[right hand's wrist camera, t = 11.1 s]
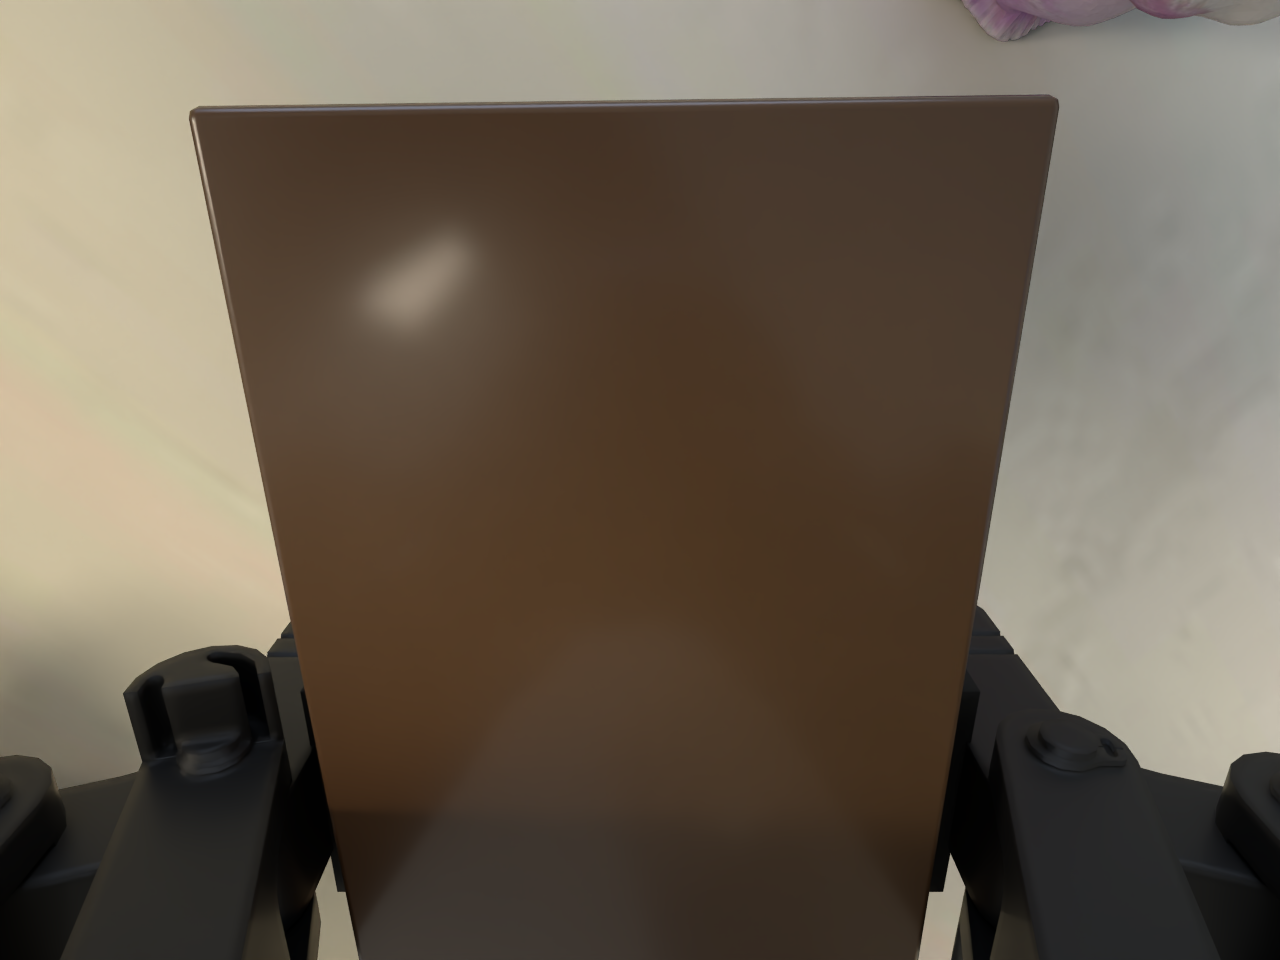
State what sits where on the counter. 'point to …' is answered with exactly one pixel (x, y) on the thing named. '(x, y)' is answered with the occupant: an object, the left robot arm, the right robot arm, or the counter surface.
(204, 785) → the right robot arm
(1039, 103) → the bar
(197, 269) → the counter surface
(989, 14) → the figurine
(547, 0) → the counter surface
